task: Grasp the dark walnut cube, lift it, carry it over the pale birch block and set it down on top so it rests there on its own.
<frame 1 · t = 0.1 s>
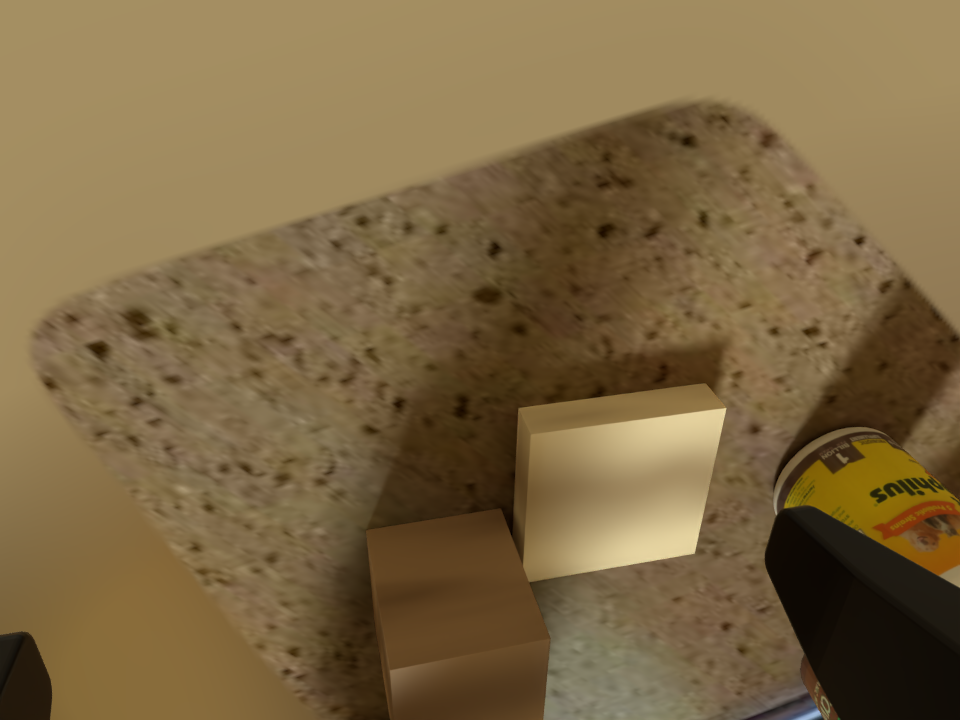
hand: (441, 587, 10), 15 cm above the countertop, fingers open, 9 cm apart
food container: (831, 653, 41), on the countertop
walnut cube: (435, 566, 30), on the countertop
supplement bottle: (824, 470, 33), on the countertop
birch block: (600, 464, 30), on the countertop
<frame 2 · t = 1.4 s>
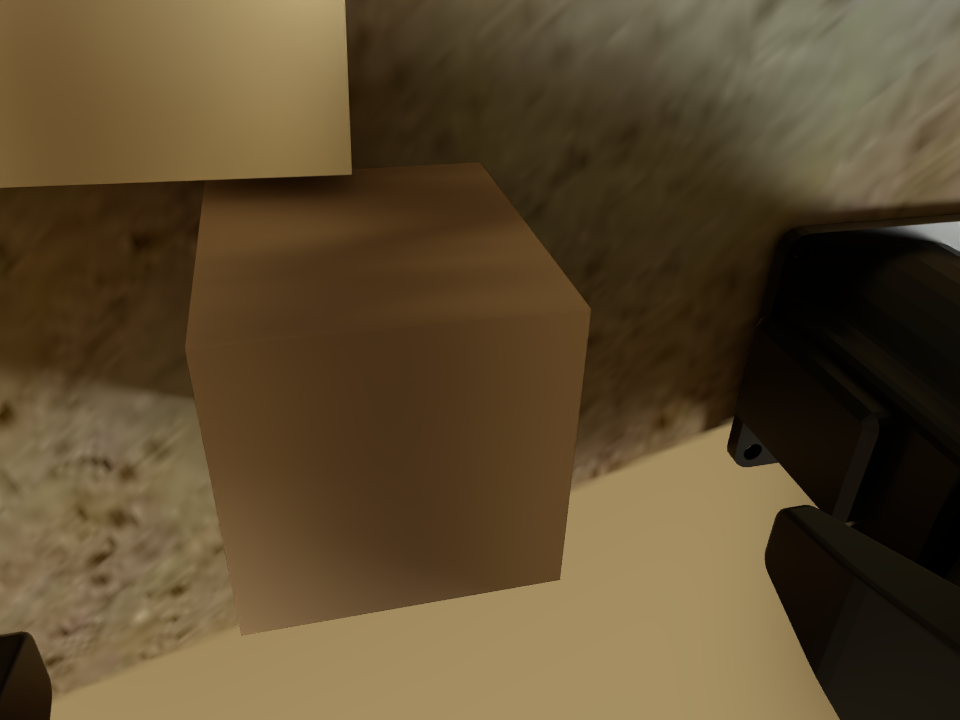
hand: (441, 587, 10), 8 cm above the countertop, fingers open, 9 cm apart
walnut cube: (354, 289, 16), on the countertop
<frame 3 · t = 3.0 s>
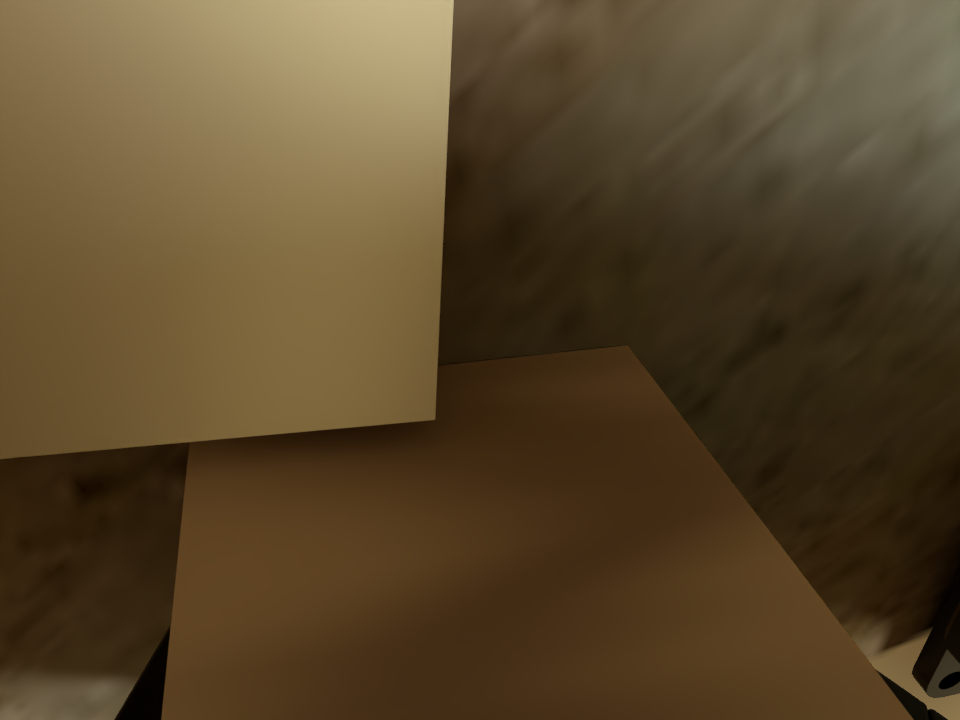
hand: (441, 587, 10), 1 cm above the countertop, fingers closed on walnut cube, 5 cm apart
walnut cube: (425, 527, 10), on the countertop, touching gripper
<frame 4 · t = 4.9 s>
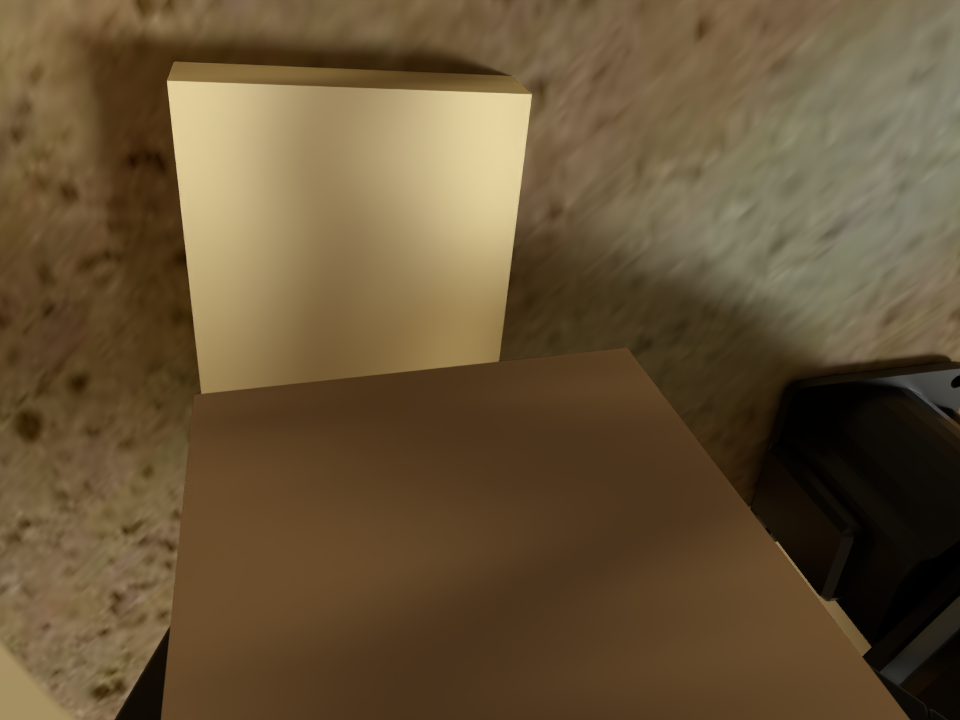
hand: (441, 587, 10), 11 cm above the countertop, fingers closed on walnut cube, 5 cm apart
walnut cube: (425, 530, 10), point 10 cm above the countertop, touching gripper
birch block: (348, 218, 19), on the countertop
when the fingers open (4 cm above the countertop, at t = 6.9 s): walnut cube drops 2 cm, point 1 cm above the countertop.
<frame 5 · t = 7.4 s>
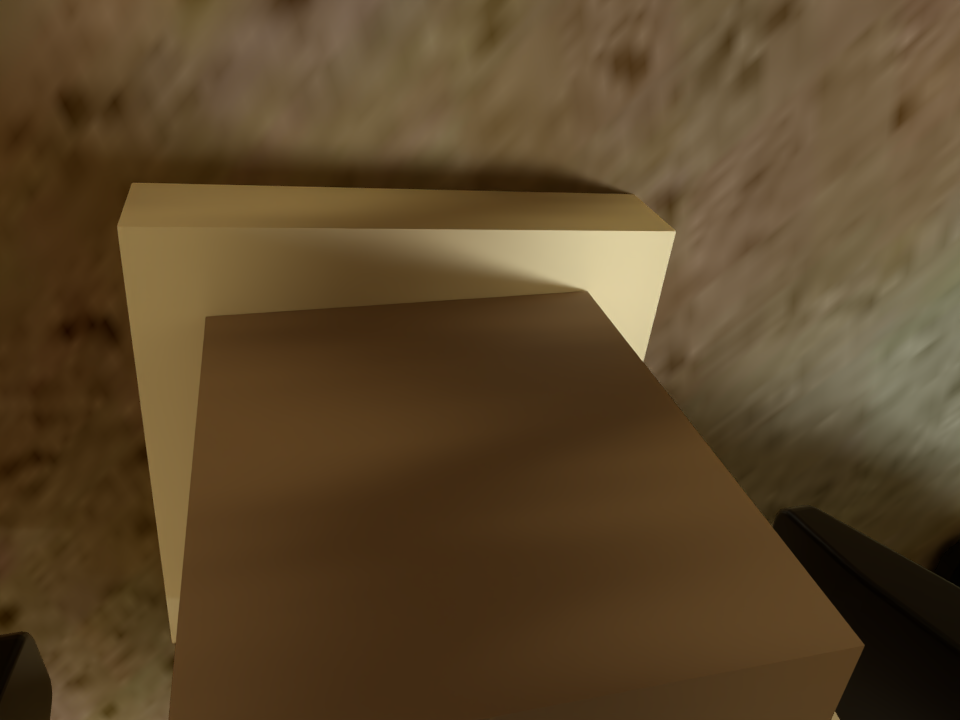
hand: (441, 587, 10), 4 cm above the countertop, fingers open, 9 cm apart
walnut cube: (406, 454, 12), point 1 cm above the countertop
birch block: (385, 378, 13), on the countertop
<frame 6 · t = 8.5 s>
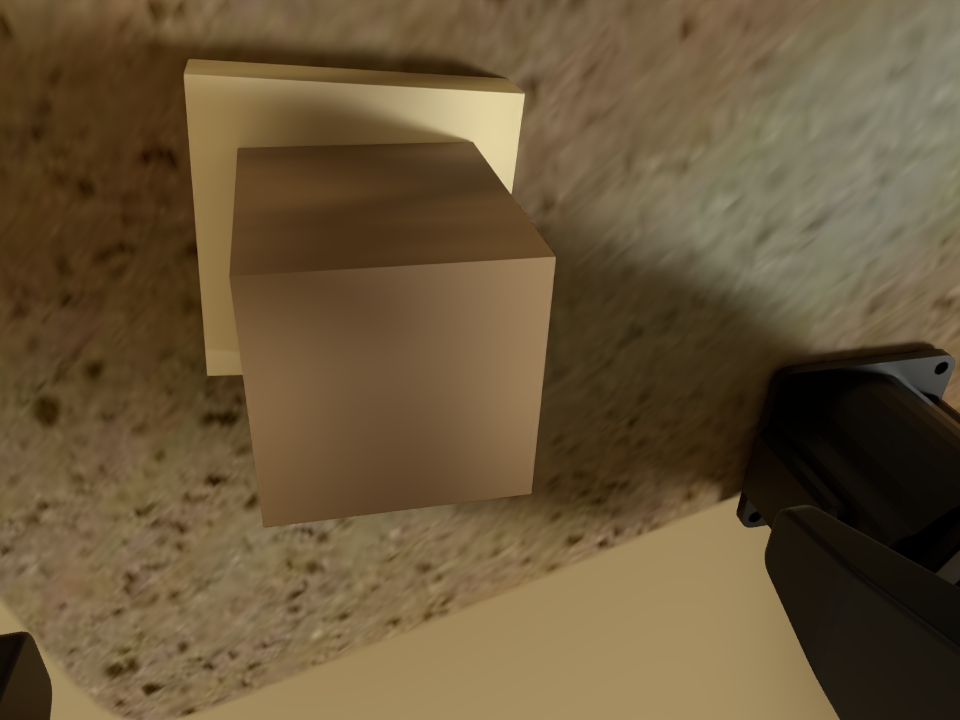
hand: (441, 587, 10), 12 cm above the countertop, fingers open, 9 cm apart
walnut cube: (362, 251, 18), point 1 cm above the countertop, touching birch block
birch block: (349, 209, 20), on the countertop, touching walnut cube
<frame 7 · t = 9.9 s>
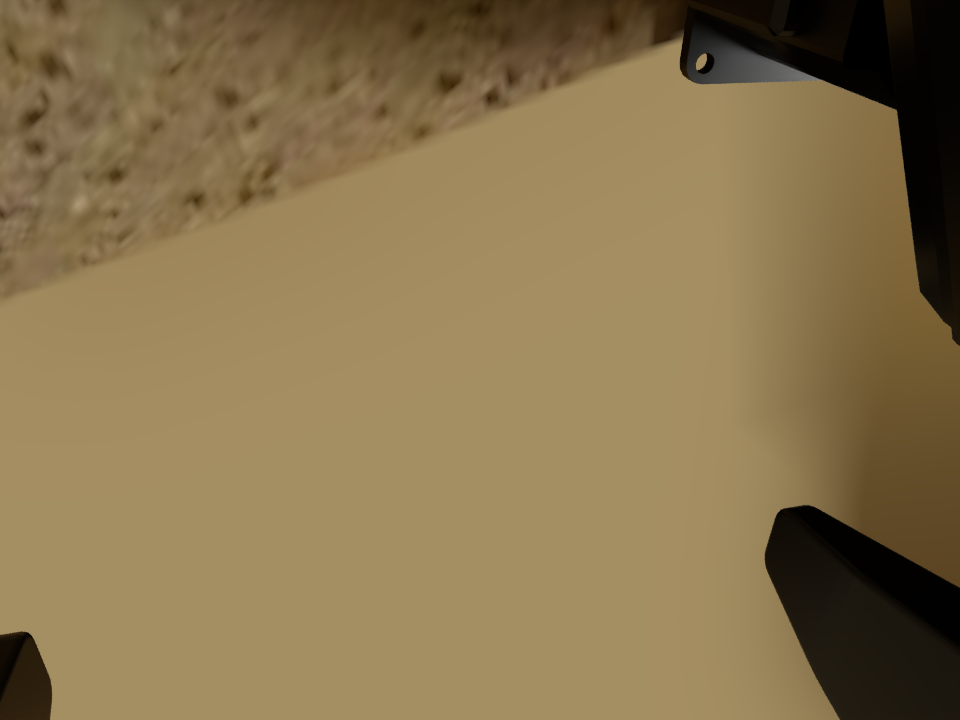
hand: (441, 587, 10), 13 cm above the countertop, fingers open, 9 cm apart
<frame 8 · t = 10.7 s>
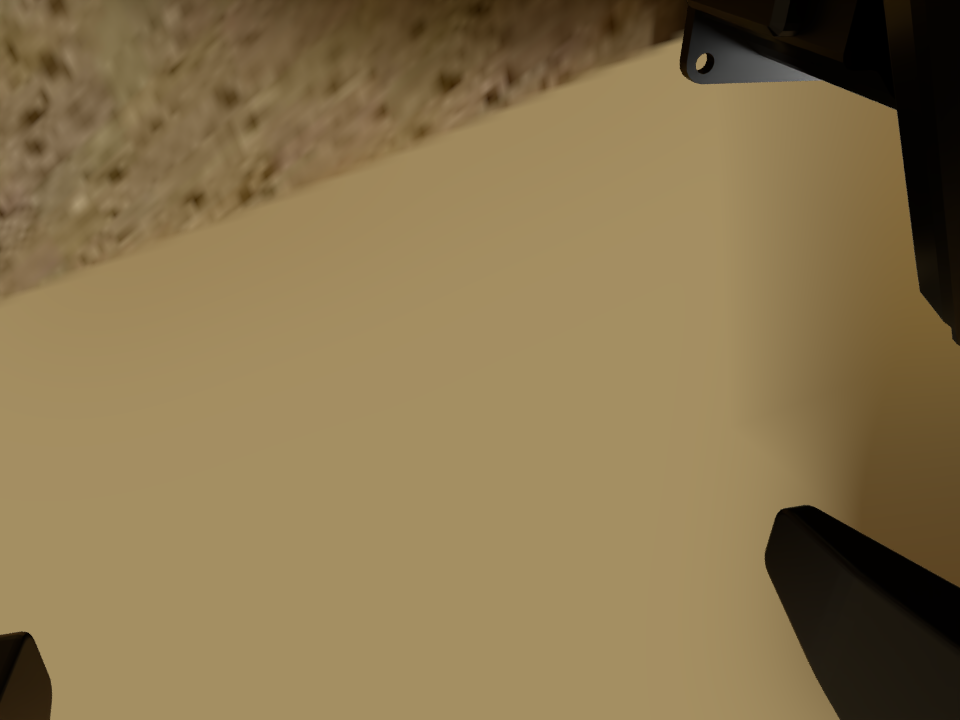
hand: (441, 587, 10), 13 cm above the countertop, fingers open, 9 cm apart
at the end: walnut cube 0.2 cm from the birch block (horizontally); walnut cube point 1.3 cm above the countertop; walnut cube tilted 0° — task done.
